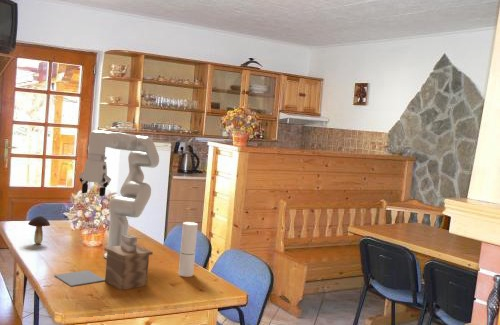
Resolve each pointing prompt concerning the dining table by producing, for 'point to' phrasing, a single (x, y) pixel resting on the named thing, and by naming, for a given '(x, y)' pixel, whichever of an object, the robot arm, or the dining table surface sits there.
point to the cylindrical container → (188, 249)
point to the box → (126, 271)
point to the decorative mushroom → (39, 228)
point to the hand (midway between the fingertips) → (93, 194)
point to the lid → (128, 248)
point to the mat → (79, 278)
